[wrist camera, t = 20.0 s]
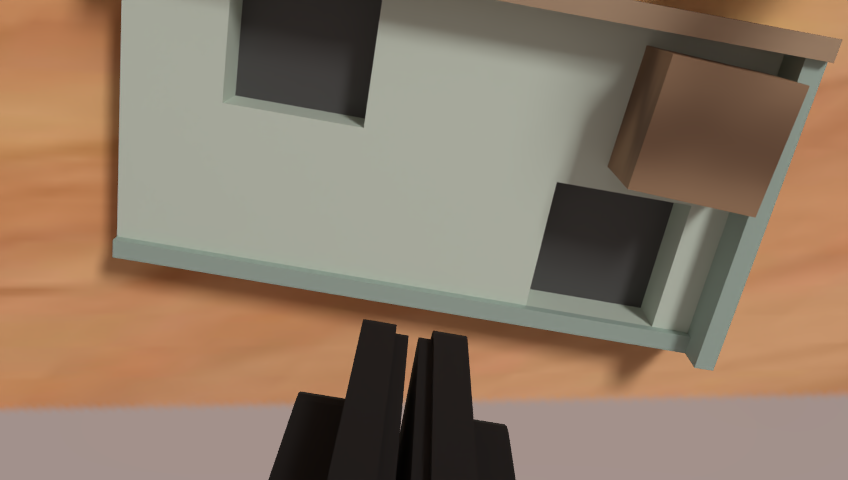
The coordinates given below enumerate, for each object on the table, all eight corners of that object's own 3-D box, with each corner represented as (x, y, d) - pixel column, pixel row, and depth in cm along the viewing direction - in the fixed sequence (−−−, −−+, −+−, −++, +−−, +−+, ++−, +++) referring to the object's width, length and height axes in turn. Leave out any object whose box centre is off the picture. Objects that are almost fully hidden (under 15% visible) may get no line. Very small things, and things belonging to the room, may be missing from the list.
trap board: (145, -90, 33) (97, -101, 29) (788, 31, 35) (842, 39, 30) (135, 237, 39) (94, 272, 35) (684, 330, 41) (716, 375, 36)
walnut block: (646, 45, 33) (673, 53, 29) (768, 73, 33) (810, 85, 29) (607, 166, 35) (627, 189, 31) (721, 192, 35) (755, 217, 31)
